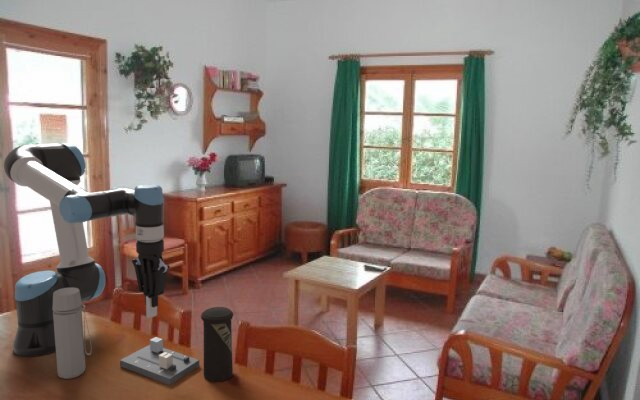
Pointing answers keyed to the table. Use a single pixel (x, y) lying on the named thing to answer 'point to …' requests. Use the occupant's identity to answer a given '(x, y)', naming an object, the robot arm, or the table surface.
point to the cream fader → (165, 360)
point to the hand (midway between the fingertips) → (151, 316)
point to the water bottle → (69, 332)
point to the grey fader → (156, 344)
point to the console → (149, 365)
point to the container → (217, 344)
